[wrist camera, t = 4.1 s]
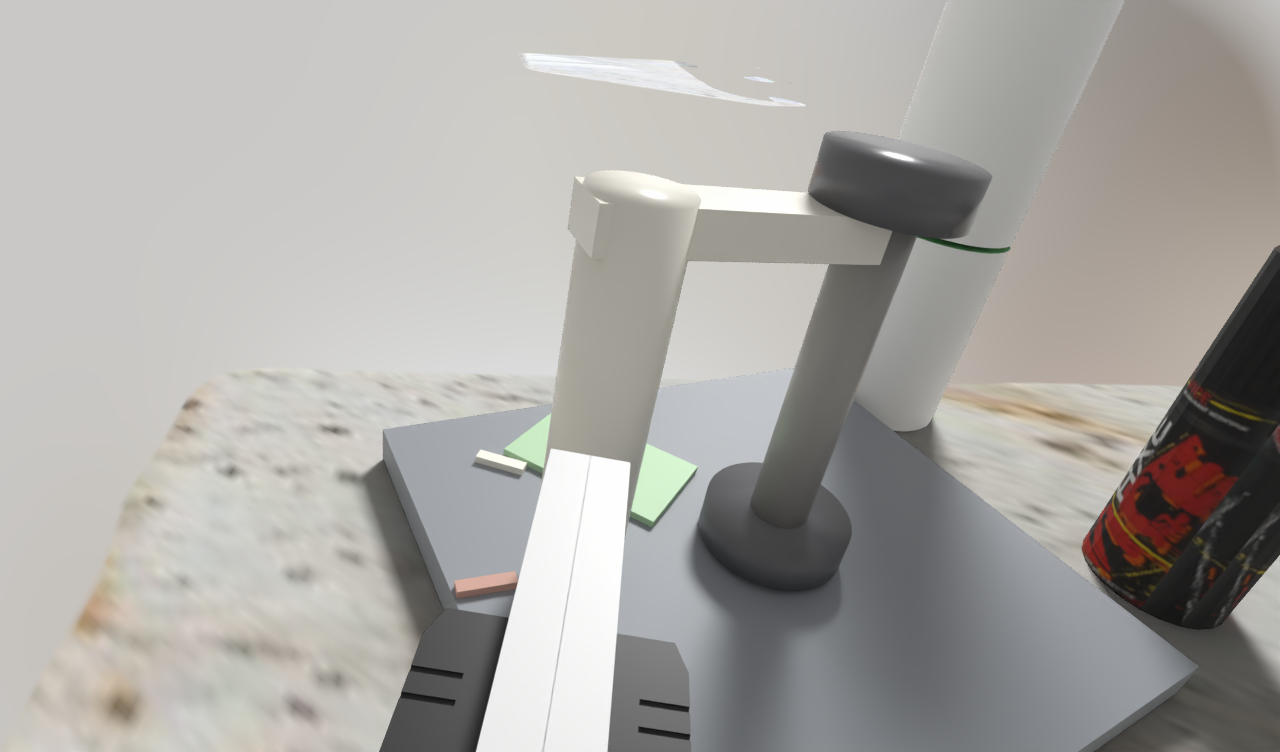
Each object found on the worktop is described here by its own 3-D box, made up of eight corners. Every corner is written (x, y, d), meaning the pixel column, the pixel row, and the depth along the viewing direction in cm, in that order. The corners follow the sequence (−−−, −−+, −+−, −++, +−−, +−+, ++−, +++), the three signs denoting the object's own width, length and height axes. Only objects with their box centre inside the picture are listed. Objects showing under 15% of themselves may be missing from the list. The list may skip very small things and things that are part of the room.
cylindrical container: (894, 368, 47) (1076, -73, 35) (955, 433, 41) (1201, -71, 29) (795, 363, 45) (951, -106, 33) (845, 429, 40) (1057, -111, 27)
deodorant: (1252, 646, 30) (1534, 331, 23) (1107, 605, 31) (1338, 286, 23) (1188, 551, 35) (1402, 269, 28) (1065, 518, 36) (1243, 233, 29)
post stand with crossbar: (790, 482, 31) (916, 136, 24) (869, 577, 27) (1051, 192, 20) (512, 517, 26) (562, 95, 19) (554, 640, 22) (640, 157, 15)
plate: (801, 386, 43) (810, 361, 42) (1177, 692, 27) (1204, 661, 26) (382, 457, 31) (382, 423, 30) (632, 1081, 15) (648, 1047, 14)
